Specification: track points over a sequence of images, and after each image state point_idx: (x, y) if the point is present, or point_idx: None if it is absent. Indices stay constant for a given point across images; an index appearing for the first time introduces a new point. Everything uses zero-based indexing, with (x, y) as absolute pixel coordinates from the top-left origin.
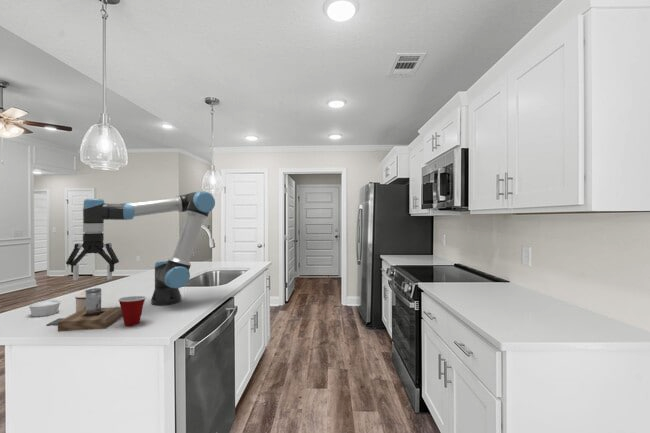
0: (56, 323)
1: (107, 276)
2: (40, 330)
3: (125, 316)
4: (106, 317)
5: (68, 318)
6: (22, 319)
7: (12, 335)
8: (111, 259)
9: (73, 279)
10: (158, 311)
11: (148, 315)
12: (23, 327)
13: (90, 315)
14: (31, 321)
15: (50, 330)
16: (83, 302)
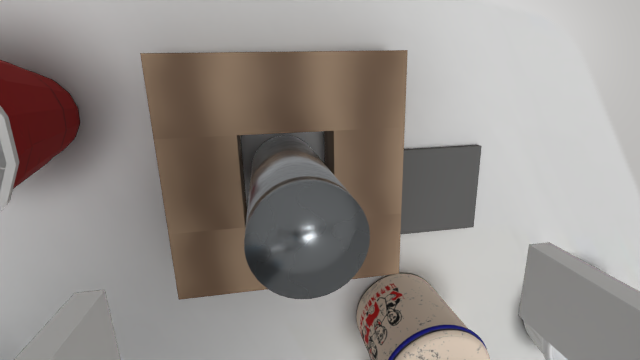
0: (445, 155)
1: (70, 323)
2: (470, 83)
3: (1, 61)
4: (157, 89)
5: (381, 105)
6: (605, 240)
7: (549, 33)
8: None
9: (555, 248)
10: (14, 322)
11: (33, 257)
12: (556, 137)
13: (285, 143)
14: (562, 212)
15: (427, 75)
16: (420, 314)
